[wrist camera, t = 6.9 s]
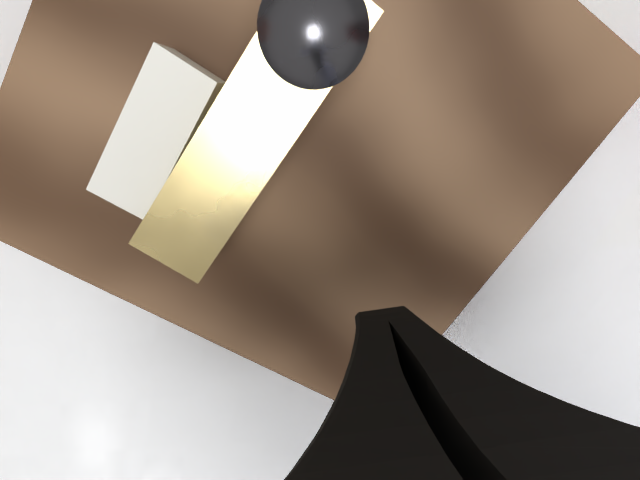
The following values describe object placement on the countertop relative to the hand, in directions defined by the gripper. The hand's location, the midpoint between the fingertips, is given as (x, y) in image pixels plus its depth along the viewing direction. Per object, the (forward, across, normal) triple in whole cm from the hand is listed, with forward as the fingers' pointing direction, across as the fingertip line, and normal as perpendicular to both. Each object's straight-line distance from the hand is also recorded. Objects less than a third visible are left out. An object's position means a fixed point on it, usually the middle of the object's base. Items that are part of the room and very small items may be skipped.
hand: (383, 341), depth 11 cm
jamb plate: (+7, +2, -5) cm, 8 cm away
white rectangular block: (+6, +6, -6) cm, 10 cm away
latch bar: (+6, +3, -6) cm, 8 cm away
